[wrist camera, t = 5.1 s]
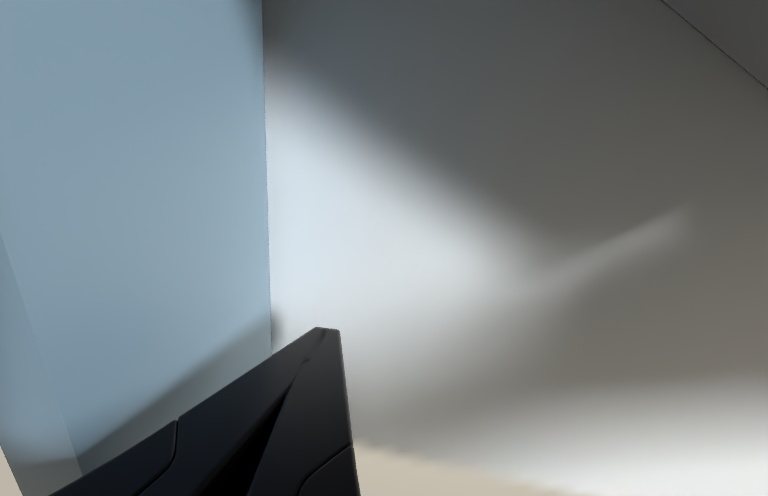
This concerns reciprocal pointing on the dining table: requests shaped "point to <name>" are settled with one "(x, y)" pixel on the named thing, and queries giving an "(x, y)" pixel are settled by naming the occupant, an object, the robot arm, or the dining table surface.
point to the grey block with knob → (732, 29)
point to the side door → (126, 222)
